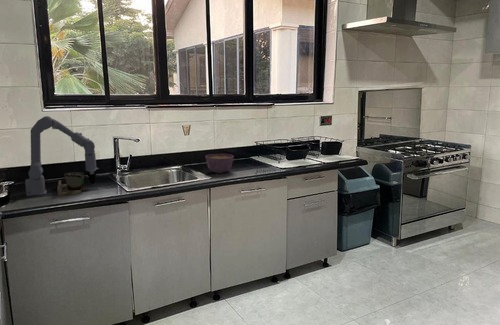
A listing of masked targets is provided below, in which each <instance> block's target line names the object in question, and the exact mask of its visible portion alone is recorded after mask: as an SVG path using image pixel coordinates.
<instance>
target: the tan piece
mask: <svg viewBox="0 0 500 325" xmlns="http://www.w3.org/2000/svg"><path fill="white" fill-rule="evenodd" d="M62 189H67V184H66V183H65V184H62V180H61V179H60V180H58V183H57V189H56V192H57V198H61V196H71V195H79V194H82V192H81V190H76V191H68V190H67V191H62Z"/></svg>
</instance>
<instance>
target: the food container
mask: <svg viewBox="0 0 500 325" xmlns="http://www.w3.org/2000/svg"><path fill="white" fill-rule="evenodd" d="M63 177H64V178H65V184H67V188H66V189H67V191H76V190H81V193H82V192H83V191H84V187H85V186H84V180H85V179H84V178H85V174H84V172H79V171H76V172H75V171H74V172H67V173H64V176H63Z"/></svg>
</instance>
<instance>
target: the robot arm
mask: <svg viewBox="0 0 500 325" xmlns="http://www.w3.org/2000/svg"><path fill="white" fill-rule="evenodd" d="M50 128H51V129H52V130H59V132H61V133H63V134H65V135H67V136H68V137H70V140H71V142H74V143H75V144H77V145H78V146H80V147H81V148H83V149H84V162H85V171H86V175H87V177H88V179H89V182H90V183H89V184H91V185H94V184H95V183H96V176H97V174H98V172H97V170H99V169H100V168H99V167H97V159H96V150H95V148H96V147H95V142H93V140H91V139H90V138H89V137H88V138H87V137H86V136H84V134H83V133H82V132H74V130H71V129H70V128H68V127H67V126H66V125H64V124H63V123H61V122H60V121H59V120H56V119H54V118H52V117H50V116H47V115H45V116H43V117H41V118H39V119H38V120H37V121H36V123H35V124H34V125H33V126H32V127H31V128H30V168H29V171H28V178H26V179H25V181H24V182H25V183H24V184H25V193H26V197H32V196H42V195H47V192H48V191H47V189H46V184H45V177H44V175H43V173H44V168H43V166H42V161H41V159H42V156H41V155H42V154H41V153H42V152H41V151H42V150H41V146H42V144H41V142H42V141H41V134H42V133H43V132H44V131H46V130H49V129H50Z"/></svg>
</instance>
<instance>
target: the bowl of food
mask: <svg viewBox="0 0 500 325" xmlns="http://www.w3.org/2000/svg"><path fill="white" fill-rule="evenodd" d="M204 156H205V161H206V165H207V168H208V169H209V171H211V172H213V173H214V172H215V173H214V174H219V173H220V174H224V173H223V172H225V173H227V172H229V171H230V170H231V168H232V165H233V162H234V157H235V156H234V155H233V154H229V153H213V154H206V155H204Z"/></svg>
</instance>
